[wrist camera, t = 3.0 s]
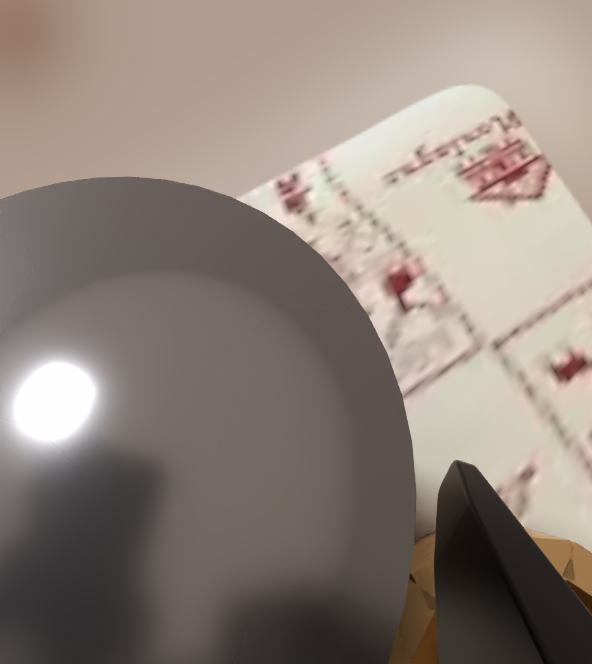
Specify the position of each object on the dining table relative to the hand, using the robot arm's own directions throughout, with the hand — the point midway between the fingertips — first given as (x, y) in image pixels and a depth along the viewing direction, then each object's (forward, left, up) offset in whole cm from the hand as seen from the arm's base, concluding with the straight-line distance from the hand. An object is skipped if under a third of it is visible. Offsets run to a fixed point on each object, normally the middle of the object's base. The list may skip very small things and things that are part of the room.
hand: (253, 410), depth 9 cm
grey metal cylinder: (-1, +1, -7) cm, 7 cm away
